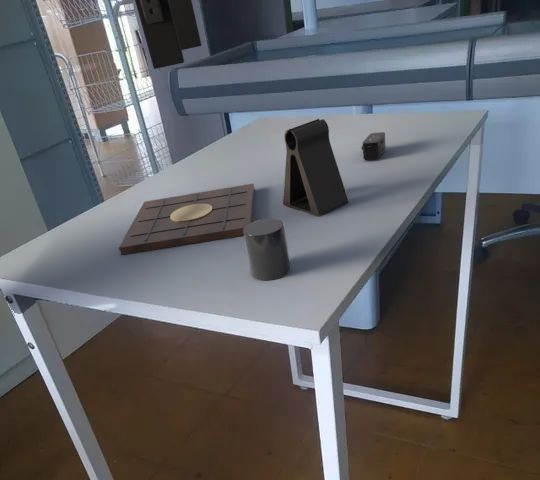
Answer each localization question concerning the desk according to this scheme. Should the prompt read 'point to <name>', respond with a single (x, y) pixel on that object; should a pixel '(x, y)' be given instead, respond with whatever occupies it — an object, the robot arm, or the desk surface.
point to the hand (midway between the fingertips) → (180, 56)
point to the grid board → (190, 219)
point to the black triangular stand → (312, 170)
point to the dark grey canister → (267, 249)
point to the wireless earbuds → (373, 146)
